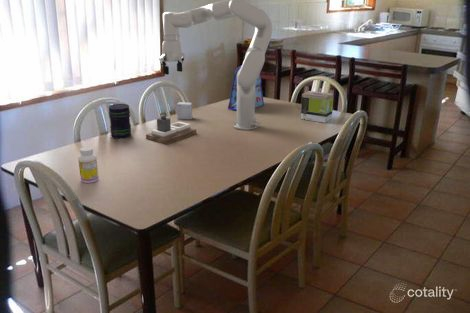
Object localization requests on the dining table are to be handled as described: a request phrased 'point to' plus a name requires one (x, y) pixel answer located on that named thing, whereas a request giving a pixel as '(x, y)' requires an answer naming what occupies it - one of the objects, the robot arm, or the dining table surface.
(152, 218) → the dining table surface
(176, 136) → the walnut board
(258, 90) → the lunch bag
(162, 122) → the plug
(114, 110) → the storage jar
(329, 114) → the tea box
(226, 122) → the dining table surface
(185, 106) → the medicine box
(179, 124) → the socket plate
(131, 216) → the dining table surface
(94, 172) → the supplement bottle
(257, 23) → the robot arm
